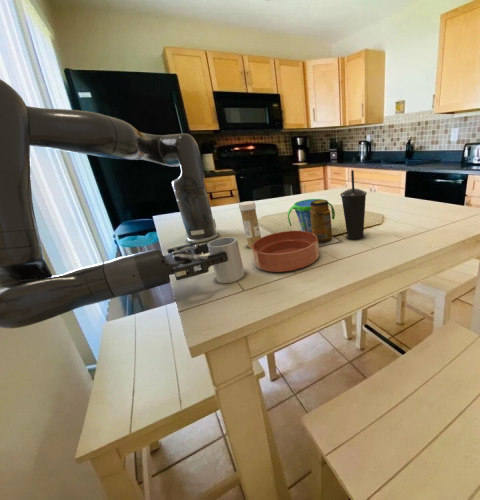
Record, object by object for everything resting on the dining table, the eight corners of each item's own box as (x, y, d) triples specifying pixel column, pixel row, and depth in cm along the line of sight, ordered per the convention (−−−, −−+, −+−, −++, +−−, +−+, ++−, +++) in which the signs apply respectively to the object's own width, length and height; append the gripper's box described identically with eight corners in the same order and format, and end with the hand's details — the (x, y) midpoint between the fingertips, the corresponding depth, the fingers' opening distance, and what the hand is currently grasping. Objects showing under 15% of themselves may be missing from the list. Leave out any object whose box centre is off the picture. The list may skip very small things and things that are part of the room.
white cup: (221, 272, 68) (212, 238, 64) (247, 269, 68) (239, 235, 64) (213, 284, 62) (203, 248, 58) (241, 281, 62) (232, 245, 59)
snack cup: (290, 240, 86) (285, 208, 82) (289, 230, 95) (285, 201, 92) (338, 234, 88) (336, 203, 84) (333, 224, 97) (331, 196, 93)
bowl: (261, 249, 80) (258, 233, 78) (318, 244, 81) (317, 228, 79) (248, 276, 64) (244, 257, 62) (320, 269, 65) (318, 250, 63)
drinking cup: (339, 240, 82) (334, 172, 74) (347, 232, 88) (344, 169, 81) (363, 242, 79) (361, 171, 72) (370, 233, 86) (369, 168, 78)
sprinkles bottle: (264, 245, 83) (256, 202, 78) (250, 249, 80) (241, 205, 75) (259, 241, 86) (251, 199, 81) (245, 245, 84) (236, 202, 79)
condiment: (328, 234, 88) (325, 197, 84) (340, 241, 81) (337, 202, 77) (307, 239, 86) (302, 201, 81) (317, 247, 78) (313, 206, 74)
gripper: (131, 267, 47) (226, 243, 55) (132, 245, 58) (211, 227, 66) (145, 303, 50) (234, 275, 58) (144, 276, 61) (219, 255, 69)
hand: (222, 250), depth 62 cm, fingers open, 8 cm apart
